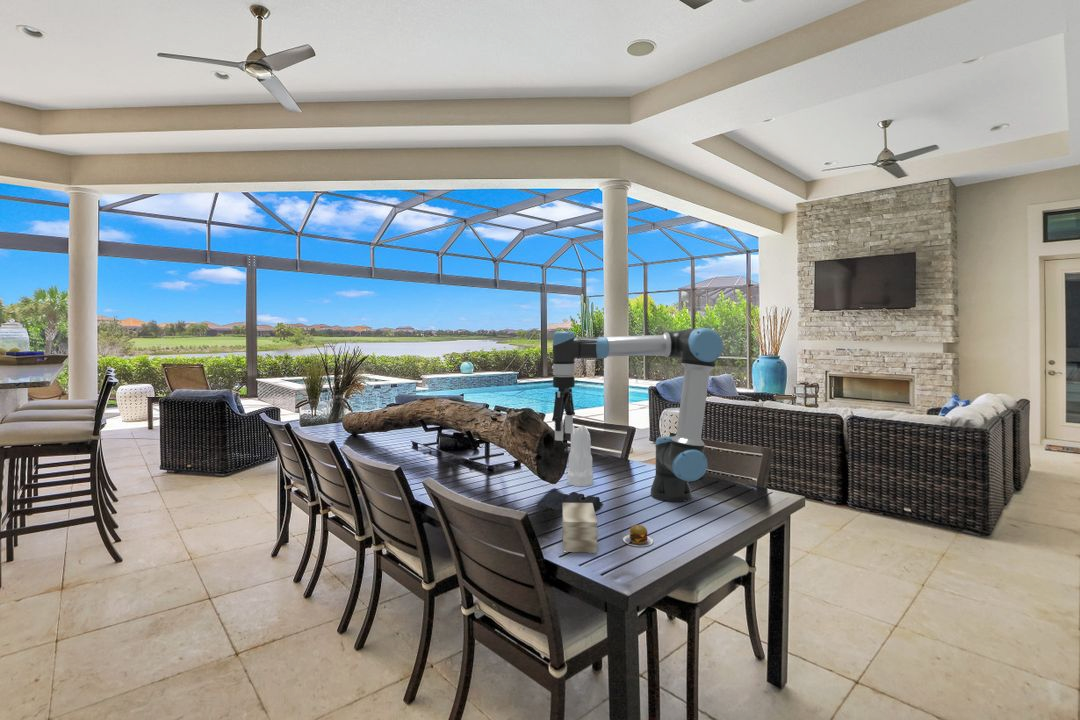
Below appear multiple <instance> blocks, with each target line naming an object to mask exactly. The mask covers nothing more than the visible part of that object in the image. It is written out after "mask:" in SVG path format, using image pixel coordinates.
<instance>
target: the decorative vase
mask: <svg viewBox="0 0 1080 720" xmlns="http://www.w3.org/2000/svg"><path fill="white" fill-rule="evenodd" d="M591 438H592V437H591V434H590V432H589V430H588V427H586V426H585V425H583V424H582V425H581V426H578V427H575V425H573V433H572V434H571V433H570V450H569V454H568V469H567V484H568V485H569V484H570V486H572V485H573V487H579V486H580V487H581V486H584V487H589V486H592V485H593V483H594V471H593V456H592V453H591V451H592V450H591V449H592V448H591V446H592V445H591V444H592V443H591Z"/></svg>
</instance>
